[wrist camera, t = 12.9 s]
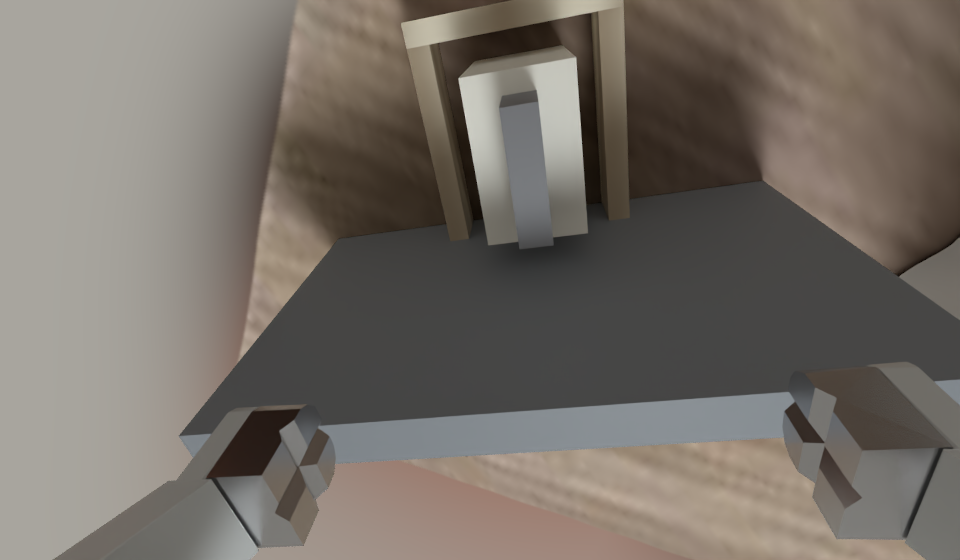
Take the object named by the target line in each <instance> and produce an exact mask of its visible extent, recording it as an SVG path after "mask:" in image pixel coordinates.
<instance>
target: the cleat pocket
mask: <svg viewBox="0 0 960 560" xmlns="http://www.w3.org/2000/svg"><path fill="white" fill-rule="evenodd" d="M586 13H591V25H592V43H593V60H594V77H595V95H596V112H597V129H598V146H599V164H600V181H601V198H602V205H603V207H604V210H605V212H606V214H607V217H608V219H609V220H617V219H625V218H630V208H629V173H628V138H627V103H626V68H625V34H624V0H510V1H505V2H500V3H495V4H490V5H486V6H481V7H476V8H471V9H466V10H461V11H457V12H452V13H447V14H442V15H437V16H432V17H428V18H423V19H418V20H413V21H408V22H404V23H401V27H402V31H403V35H404V40H405V44H406V49H407V53H408V57H409V62H410V66H411V71H412V75H413V79H414V84H415V88H416V93H417V97H418V101H419V106H420V110H421V115H422V119H423V123H424V128H425V132H426V137H427V141H428V145H429V150H430V154H431V159H432V163H433V167H434V172H435V176H436V181H437V185H438V189H439V194H440V198H441V203H442V207H443V211H444V216H445V220H446V225H447V229H448V233H449V238H450V241H457V240H464V239H469V237H470V233H471V229H472V224H473V216H472V211H471V205H470V200H469V195H468V190H467V185H466V180H465V175H464V170H463V165H462V160H461V155H460V150H459V145H458V140H457V134H456V129H455V124H454V119H453V114H452V109H451V104H450V99H449V94H448V89H447V84H446V79H445V74H444V69H443V63H442V58H441V53H440V48H439V43H440V42H445V41H450V40H455V39H460V38H465V37H470V36H475V35H480V34H485V33H490V32H495V31H500V30H506V29H511V28H516V27H521V26H526V25H531V24H536V23H541V22H546V21H551V20H556V19H561V18H566V17H571V16H576V15H581V14H586Z"/></svg>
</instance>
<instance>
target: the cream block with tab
mask: <svg viewBox="0 0 960 560" xmlns="http://www.w3.org/2000/svg"><path fill="white" fill-rule="evenodd" d="M458 79H459V85H460V91H461V96H462V102H463V107H464V113H465V118H466V124H467V130H468V135H469V141H470V146H471V152H472V157H473V163H474V169H475V174H476V180H477V185H478V191H479V196H480V202H481V208H482V213H483V219H484V224H485V230H486V235H487V241H488V245H496V244H504V243H512V242H518V243H519V249H527V248H536V247H544V246H552V245H554V242H553V237H561V236H569V235H578V234H586V233H588V225H587V210H586V196H585V181H584V166H583V152H582V137H581V122H580V107H579V93H578V78H577V63H576V57H575V56H574V55H573V54H572V53H571V52H570V51H568V50H567V49H566V48H565V47H564V46H563V45H560V46H555V47H549V48H544V49H538V50H533V51H527V52H522V53H516V54H511V55H505V56H500V57H494V58H489V59H483V60H478V61H474V62H473V63H472V64H471V66H470V67H469V68H468V69H467V70H466V71H465V72H464V73H463V74H462V75H461V76H460V77H459V78H458Z"/></svg>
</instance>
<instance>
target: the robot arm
mask: <svg viewBox="0 0 960 560" xmlns="http://www.w3.org/2000/svg"><path fill="white" fill-rule="evenodd" d="M899 278H901V279H902V280H904V281H905V282H907V283H908V284H909V285H911V286H912V287H914V288H915V289H916V290H918V291H919V292H921V293H922V294H923V295H925V296H926V297H928V298H929V299H930V300H932V301H933V302H935V303H936V304H938V305H939V306H940V307H942V308H943V309H945V310H946V311H947V312H949V313H950V314H952V315H953V316H954V317H956V318H957V319H959V320H960V237H959V238H958V239H957V240H956V241H955V242H954V243H953V244H951V245H950V246H949V247H947V248H946V249H944V250H942V251H941V252H939V253H937V254H935V255H934V256H932V257H930V258H928V259H926V260H924V261H923V262H921V263H919V264H917V265H916V266H914V267H912V268H911V269H909V270H908V271H906V272H905V273H903V274H902V275H900V276H899ZM788 391H789V393H790V394H791V396H792V397H793V399H794V400H795V402H794V403H793V404H792V405H790V406H789V407H788V408H787V409H786V410H785V411H784V417H783V425H782V428H783V434H784V441H785V445H786V448H787V451H788V453H789V456H790V458H791V460H792V462H793V464H794V465H795V467H796V469H797V471H798V472H799V473H801V474H802V475H804V476H805V477H807V478H808V479H810V480H811V481H813V482H814V483H815V488H814V492H813V499H814V501H815V502H816V504H817V506H818V508H819V509H820V511H821V513H822V514H823V516H824V518H825V520H826V521H827V523H828V525H829V527H830V528H831V530H832V532H833V533H834V535H835V537H836V539H887V540H906V541H905V543H906V544H907V545H908V546H909V547H911V548H912V549H913V550H915V551H916V552H917V553H918V554H920V555H921V556H922V557H924V558H925V559H926V560H960V405H959V404H958V403H957V402H955V401H954V400H953V399H952V398H951V397H950V396H949V395H948V394H947V393H946V392H945V391H944V390H942V389H941V388H940V387H939V386H938V385H937V384H936V383H935V382H934V381H933V380H932V379H931V378H929V377H928V376H927V375H926V374H925V373H924V372H923V371H922V370H921V369H920V368H919V367H917V366H916V365H913V364H911V363H909V362H896V363H884V364H872V365H867V366H851V367H838V368H825V369H812V370H799V371H795V372H794V373H793V374H792V376H791V377H790V381H789V387H788ZM321 420H322V419H321V417H320V415H319V413H318V411H317V409H316V407H315V406H312V405H308V404H302V405H278V406H260V407H244V408H236V409H234V410H232V411H230V412H228V413H227V414H226V416H225V417H224V418H223V420H222V421H221V422H220V424H219V425H218V426H217V428H216V429H215V430H214V432H213V433H212V434H211V435H210V437H209V438H208V439H207V441H206V442H205V443H204V445H203V446H202V447H201V449H200V450H199V451H198V453H197V454H196V455H195V456H194V458H193V459H192V460H191V462H190V463H189V464H188V466H187V467H186V468H185V470H184V471H183V472H182V474H181V475H180V476H179V477H178V479H177V480H176V481H168V482H166V483H165V484H163V485H162V486H160V487H159V488H157V489H156V490H154V491H153V492H151V493H150V494H149V495H147V496H146V497H144V498H143V499H141V500H140V501H138V502H137V503H135V504H134V505H132V506H131V507H130V508H128V509H127V510H125V511H124V512H122V513H121V514H119V515H118V516H116V517H115V518H113V519H112V520H111V521H109V522H108V523H106V524H105V525H103V526H102V527H100V528H99V529H97V530H96V531H94V532H93V533H91V534H90V535H88V536H87V537H86V538H84V539H83V540H81V541H80V542H78V543H77V544H75V545H74V546H72V547H71V548H69V549H68V550H66V551H65V552H64V553H62V554H61V555H59V556H58V557H56V558H55V559H53V560H251V558H252V557H253V556H254V555H255V554H256V553H257V552H258V551H259V549H258V548H263V547H286V546H304V543H305V541H306V539H307V536H308V534H309V532H310V529H311V527H312V525H313V522H314V520H315V518H316V516H317V513H318V511H319V509H318V506H317V502H316V498H317V497H319V496H320V495H321V494H322V493H323V492H324V491H325V490H327V489H328V487H329V485H330V482H331V480H332V477H333V475H334V469H335V461H336V455H335V449H334V445H333V442H332V440H331V438H330V436H329V435H327V434H326V433H324V432H323V431H322V430H320V429H319V428H318V427H319V425H320V422H321Z"/></svg>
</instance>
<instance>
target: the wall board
mask: <svg viewBox="0 0 960 560" xmlns="http://www.w3.org/2000/svg"><path fill="white" fill-rule="evenodd" d="M629 208H630V218H625V219H617V220H609V219H608V217H607V214H606V212H605V210H604V207H603V205H602V203H597V204H590V205H586V210H587V225H588V233H586V234H578V235H569V236H561V237H553V242H554V245H552V246H544V247H536V248H527V249H519V243H518V242H512V243H504V244H496V245H488V241H487V235H486V230H485V224H484V219H480V220H473V224H472V229H471V233H470V237H469V239H464V240H457V241H450V238H449V233H448V229H447V225H446V224H444V225H436V226H429V227H422V228H415V229H407V230H400V231H393V232H385V233H378V234H371V235H363V236H356V237H349V238H341V239H338V240H337V241H336V243H335V244H334V245H333V246H332V248H331V249H330V250H329V251H328V253H327V254H326V255H325V256H324V258H323V259H322V260H321V261H320V262H319V264H318V265H317V266H316V267H315V269H314V270H313V271H312V272H311V274H310V275H309V276H308V277H307V278H306V280H305V281H304V282H303V283H302V285H301V286H300V287H299V288H298V290H297V291H296V292H295V293H294V295H293V296H292V297H291V298H290V299H289V301H288V302H287V303H286V304H285V306H284V307H283V308H282V309H281V311H280V312H279V313H278V314H277V316H276V317H275V318H274V319H273V320H272V322H271V323H270V324H269V325H268V327H267V328H266V329H265V330H264V332H263V333H262V334H261V335H260V336H259V338H258V339H257V340H256V341H255V343H254V344H253V345H252V346H251V348H250V349H249V350H248V351H247V353H246V354H245V355H244V356H243V357H242V359H241V360H240V361H239V362H238V364H237V365H236V366H235V368H234V369H233V370H232V371H231V372H230V374H229V375H228V376H227V377H226V378H225V380H224V381H223V382H222V383H221V385H220V386H219V387H218V388H217V390H216V391H215V392H214V393H213V394H212V396H211V397H210V398H209V399H208V401H207V402H206V403H205V405H204V406H203V407H202V408H201V409H200V411H199V412H198V413H197V414H196V415H195V417H194V418H193V419H192V420H191V422H190V423H189V424H188V425H187V427H186V428H185V429H184V430H183V432H182V433H181V434H180V435H179V437H180V439H181V440H182V442H183V443H184V445H185V446H186V448H187V449H188V450H189V452H190V454H191V455H192V457H193V458H194V456H195V455H196V454H197V453H198V451H199V450H200V449H201V447H202V446H203V445H204V443H205V442H206V441H207V439H208V438H209V437H210V435H211V434H212V433H213V432H214V430H215V429H216V428H217V426H218V425H219V424H220V422H221V421H222V420H223V418H224V417H225V416H226V414H227V413H228V412H230V411H232V410H234V409H236V408H244V407H260V406H278V405H302V404H308V405H312V406H315V407H316V409H317V411H318V413H319V415H320V417H321V419H322V420H321V422H320V425H319V427H318V428H319V429H320V430H322V431H323V432H324V433H326V434H327V435H329V436H330V438H331V440H332V442H333V445H334V449H335V455H336V461H335V464H340V463H357V462H374V461H389V460H408V459H425V458H442V457H459V456H476V455H493V454H510V453H527V452H544V451H561V450H577V449H594V448H611V447H628V446H645V445H662V444H679V443H696V442H713V441H730V440H747V439H764V438H781V437H784V434H783V428H782V425H783V417H784V411H785V410H786V409H787V408H788V407H789V406H790V405H792V404H793V403H794V402H795V400H794V399H793V397H792V396H791V394H790V393H789V391H788V387H789V381H790V377H791V376H792V374H793V373H794V372H795V371H799V370H812V369H825V368H838V367H851V366H867V365H872V364H884V363H896V362H909V363H911V364H913V365H916V366H917V367H919V368H920V369H921V370H922V371H923V372H924V373H925V374H926V375H927V376H928V377H929V378H931V379H932V380H933V381H934V382H935V383H936V384H937V385H938V386H939V387H940V388H941V389H942V390H944V391H945V392H946V393H947V394H948V395H949V396H950V397H951V398H952V399H953V400H954V401H955V402H957V403H958V404H959V405H960V320H959V319H957V318H956V317H954V316H953V315H952V314H950V313H949V312H947V311H946V310H945V309H943V308H942V307H940V306H939V305H938V304H936V303H935V302H933V301H932V300H930V299H929V298H928V297H926V296H925V295H923V294H922V293H921V292H919V291H918V290H916V289H915V288H914V287H912V286H911V285H909V284H908V283H907V282H905V281H904V280H902V279H901V278H899V277H898V276H897V275H895V274H894V273H892V272H891V271H890V270H888V269H887V268H885V267H884V266H883V265H881V264H880V263H878V262H877V261H875V260H874V259H873V258H871V257H870V256H868V255H867V254H866V253H864V252H863V251H861V250H860V249H859V248H857V247H856V246H854V245H853V244H852V243H850V242H849V241H847V240H846V239H844V238H843V237H842V236H840V235H839V234H837V233H836V232H835V231H833V230H832V229H830V228H829V227H828V226H826V225H825V224H823V223H822V222H821V221H819V220H818V219H816V218H815V217H813V216H812V215H811V214H809V213H808V212H806V211H805V210H804V209H802V208H801V207H799V206H798V205H797V204H795V203H794V202H792V201H791V200H790V199H788V198H787V197H785V196H784V195H782V194H781V193H780V192H778V191H777V190H775V189H774V188H773V187H771V186H770V185H768V184H767V183H766V182H764V181H758V182H750V183H743V184H736V185H729V186H721V187H714V188H707V189H699V190H692V191H685V192H677V193H670V194H663V195H656V196H648V197H641V198H634V199H629Z"/></svg>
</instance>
